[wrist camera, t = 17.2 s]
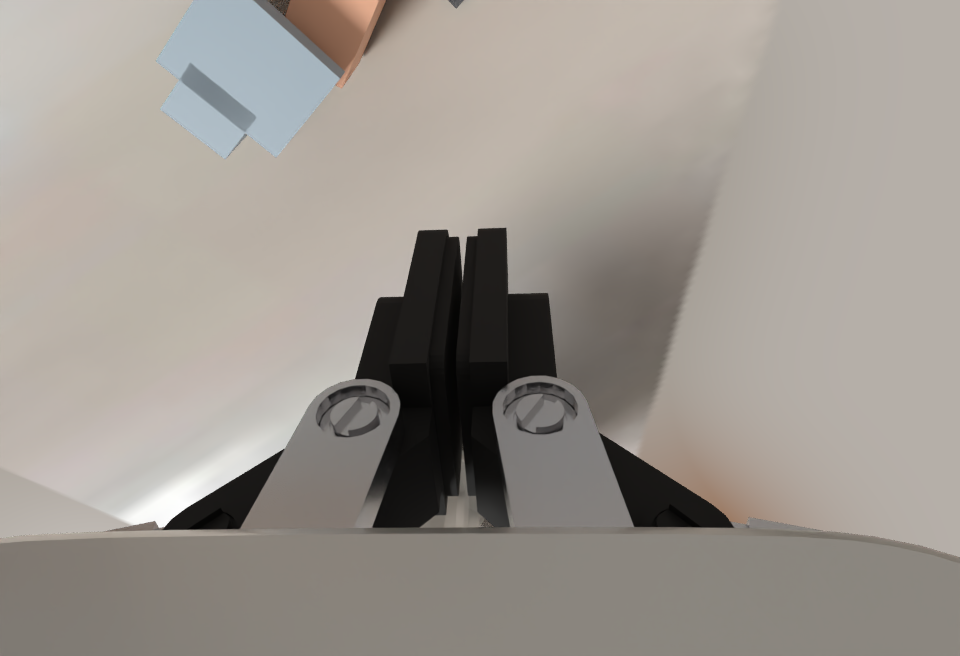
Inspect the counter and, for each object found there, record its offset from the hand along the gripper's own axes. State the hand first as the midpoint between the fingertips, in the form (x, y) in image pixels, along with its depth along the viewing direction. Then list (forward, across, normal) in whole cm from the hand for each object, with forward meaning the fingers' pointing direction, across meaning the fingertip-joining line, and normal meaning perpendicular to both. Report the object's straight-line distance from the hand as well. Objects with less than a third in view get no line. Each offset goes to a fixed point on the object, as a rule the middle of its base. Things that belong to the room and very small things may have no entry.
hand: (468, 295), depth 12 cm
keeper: (+21, +10, 0) cm, 23 cm away
